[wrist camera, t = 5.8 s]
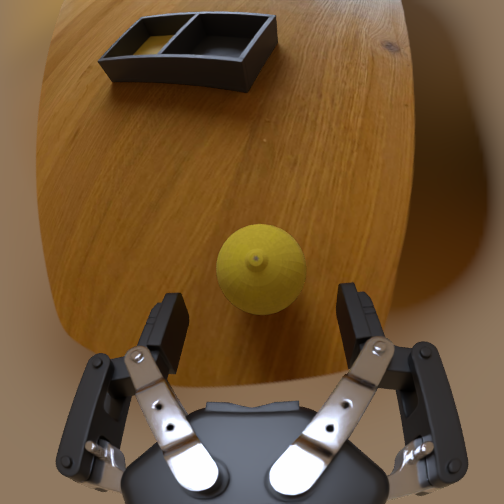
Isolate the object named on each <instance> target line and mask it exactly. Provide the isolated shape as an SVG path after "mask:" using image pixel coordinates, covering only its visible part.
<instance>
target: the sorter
mask: <svg viewBox="0 0 504 504" xmlns="http://www.w3.org/2000/svg"><path fill="white" fill-rule="evenodd" d="M277 43H278V37H277V22H276V15H269V14H258V13H244V12H186V13H172V14H162V15H153V16H146V17H141V18H140V19H139V20H137V21H136V22H135V23H134V24H133V25H132V26H131V27H130V28H129V29H128V30H127V31H126V32H125V33H124V34H123V35H122V36H121V37H120V38H119V39H118V40H117V41H116V42H115V43H114V44H113V45H112V46H111V47H110V48H109V49H108V50H107V51H106V52H105V54H104V55H103V56H102V57H101V58H100V59H99V60H98V63H99V64H100V66H101V67H102V68H103V70H104V71H105V73H106V74H107V75H108V77H109V78H110V80H111V81H112V82H156V83H173V84H185V85H196V86H205V87H213V88H220V89H227V90H233V91H239V92H245V93H248V91H249V89H250V88H251V86H252V84H253V82H254V81H255V79H256V77H257V76H258V74H259V72H260V71H261V69H262V67H263V66H264V64H265V62H266V61H267V59H268V57H269V56H270V54H271V53H272V51H273V49H274V48H275V46H276V45H277Z"/></svg>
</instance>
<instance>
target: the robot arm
mask: <svg viewBox="0 0 504 504" xmlns="http://www.w3.org/2000/svg"><path fill="white" fill-rule="evenodd" d="M336 315H337V320H338V324H339V329H340V333H341V337H342V342H343V346H344V351H345V355H346V360H347V365H348V369H350V370H349V372H348V373H347V374H345V375H344V376H343V377H342V379H341V380H340V382H339V383H338V385H337V386H336V388H335V389H334V391H333V392H332V394H331V395H330V396H329V398H328V399H327V401H326V402H325V403H324V405H323V406H322V408H321V409H320V410H319V412H316V411H314V410H311V409H309V408H305V407H300V406H299V401H288V402H274V403H271V404H266V405H262V406H258V407H254V408H249V407H245V406H240V405H236V404H232V403H226V402H207V403H206V408H202V409H199V410H196V411H194V412H192V413H190V414H189V415H188V414H187V412H186V411H185V409H184V408H183V406H182V404H181V403H180V401H179V399H178V398H177V396H176V394H175V393H174V391H173V389H172V387H171V385H170V384H169V382H168V380H167V378H168V374H176V372H177V368H178V364H179V360H180V356H181V352H182V348H183V345H184V341H185V337H186V333H187V329H188V326H189V314H188V311H187V308H186V305H185V302H184V300H183V297H182V294H181V293H166V294H165V296H164V299H163V301H162V303H157V304H156V305H155V306H154V307H153V309H152V310H151V312H150V315H149V318H148V319H147V322H146V325H145V327H144V329H143V332H142V334H141V337H140V339H139V342H138V344H137V346H135V347H133V348H131V349H129V350H128V351H127V353H126V354H125V356H124V357H119V358H115V359H110V358H109V357H108V356H107V355H106V354H104V353H99V354H96V355H94V356H93V357H91V358H90V359H89V361H88V363H87V366H86V368H85V371H84V373H83V376H82V378H81V381H80V384H79V386H78V389H77V392H76V395H75V397H74V400H73V403H72V406H71V409H70V412H69V415H68V418H67V422H66V425H65V428H64V431H63V435H62V438H61V442H60V445H59V449H58V453H57V457H56V467H57V469H58V471H59V472H60V473H61V474H62V475H64V476H66V477H68V478H70V479H72V480H73V481H75V482H77V483H79V484H82V485H84V486H86V487H89V488H92V489H95V490H98V491H101V492H106V491H112V492H115V493H119V494H122V495H123V498H124V501H125V504H385V503H386V501H388V500H393V499H398V498H401V497H405V496H409V495H413V494H415V495H419V496H422V495H426V494H429V493H432V492H434V491H437V490H439V489H441V488H444V487H446V486H449V485H451V484H453V483H455V482H457V481H459V480H460V479H461V478H463V477H464V475H465V474H466V472H467V469H468V457H467V452H466V447H465V442H464V437H463V433H462V428H461V424H460V420H459V416H458V412H457V409H456V405H455V402H454V398H453V395H452V391H451V389H450V385H449V382H448V379H447V375H446V373H445V370H444V367H443V364H442V361H441V358H440V355H439V353H438V350H437V348H436V347H435V346H434V345H433V344H431V343H429V342H418V343H416V344H415V345H414V346H413V348H405V347H398V346H395V345H393V343H392V342H391V341H390V340H389V339H388V338H386V337H385V335H384V332H383V330H382V327H381V324H380V321H379V319H378V316H377V314H376V311H375V308H374V305H373V303H372V300H371V298H370V297H369V296H368V295H367V294H366V293H365V292H357V289H356V287H355V284H354V283H353V282H352V283H341V284H339V285H338V294H337V303H336ZM378 388H384V389H394V390H396V394H397V399H398V404H399V410H400V415H401V420H402V427H403V433H404V440H405V447H404V448H403V449H402V450H401V451H400V452H399V453H398V454H397V456H396V458H395V466H394V469H393V471H392V473H391V474H390V475H388V476H387V475H386V473H385V472H384V471H383V470H382V469H381V468H380V467H379V466H378V465H377V464H376V463H374V462H373V461H372V460H371V459H370V458H369V457H367V456H366V455H365V454H364V453H363V452H361V450H359V449H358V448H357V447H356V446H355V445H354V444H353V443H352V442H350V441H349V440H348V438H349V437H350V435H351V434H352V432H353V430H354V429H355V427H356V426H357V424H358V422H359V421H360V419H361V417H362V416H363V414H364V412H365V410H366V409H367V407H368V405H369V403H370V402H371V400H372V398H373V396H374V394H375V392H376V391H377V389H378ZM133 395H135V396H136V398H137V401H138V403H139V405H140V407H141V410H142V412H143V414H144V416H145V418H146V420H147V422H148V424H149V427H150V428H151V431H152V433H153V434H154V436H155V438H156V440H157V442H156V443H155V444H154V445H153V446H152V447H150V448H149V449H148V450H147V451H146V452H145V453H143V454H142V455H141V456H140V457H138V458H137V459H136V460H135V461H134V462H132V463H131V464H130V465H129V466H128V467H127V468H125V458H124V455H123V453H122V452H121V451H120V445H121V441H122V436H123V431H124V427H125V422H126V418H127V414H128V410H129V406H130V401H131V397H132V396H133Z"/></svg>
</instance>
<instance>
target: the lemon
mask: <svg viewBox="0 0 504 504" xmlns="http://www.w3.org/2000/svg"><path fill="white" fill-rule="evenodd" d="M216 274H217V279H218V283H219V286H220V288H221V290H222V292H223V294H224V295H225V297H226V298H227V299H228V300H229V301H230V302H231V303H232V304H233V305H234V306H236V307H237V308H239V309H241V310H242V311H244V312H248V313H251V314H254V315H268V314H272V313H276V312H279V311H281V310H283V309H285V308H286V307H288V306H289V305H290V304H291V303H292V302H293V301H295V300H296V298H297V297H298V295H299V294H300V292H301V291H302V288H303V285H304V282H305V279H306V263H305V258H304V254H303V252H302V250H301V248H300V246H299V244H298V243H297V242H296V241H295V240H294V238H293V237H292V236H291V235H289V234H288V233H286V232H285V231H284V230H282V229H280V228H277V227H275V226H272V225H265V224H256V225H249V226H247V227H244V228H241V229H239V230H238V231H236V232H235V233H234V234H232V235H231V236H230V237H229V238H228V239H227V240H226V242H225V243H224V244H223V246H222V248H221V250H220V252H219V255H218V259H217V263H216Z"/></svg>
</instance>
